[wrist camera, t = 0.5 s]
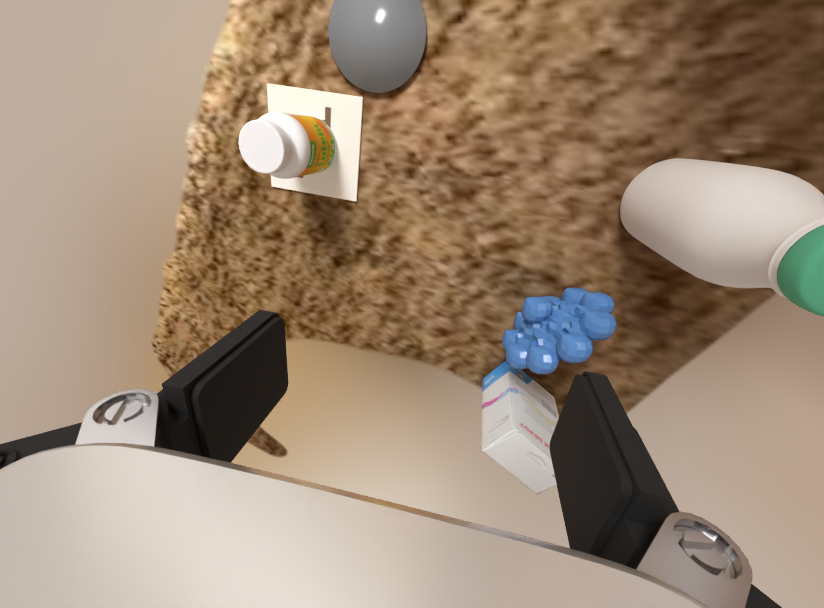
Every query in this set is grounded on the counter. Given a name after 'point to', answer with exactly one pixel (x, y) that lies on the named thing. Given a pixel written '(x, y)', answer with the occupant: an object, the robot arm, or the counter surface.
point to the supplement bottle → (287, 145)
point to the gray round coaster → (377, 41)
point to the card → (346, 127)
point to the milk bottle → (732, 225)
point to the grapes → (558, 329)
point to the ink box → (519, 426)
